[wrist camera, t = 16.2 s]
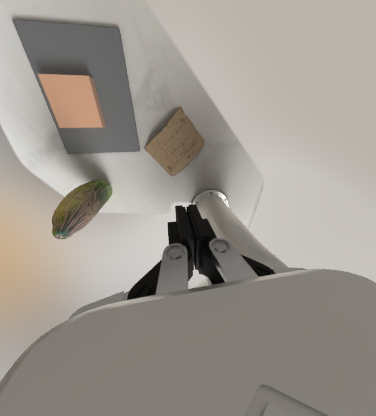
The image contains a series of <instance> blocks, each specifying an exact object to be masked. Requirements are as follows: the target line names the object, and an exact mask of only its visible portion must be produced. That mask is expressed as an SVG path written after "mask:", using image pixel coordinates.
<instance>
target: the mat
mask: <svg viewBox="0 0 376 416" xmlns="http://www.w3.org/2000/svg"><path fill="white" fill-rule="evenodd" d="M12 21H13V23H14V25H15V28H16V30H17V33H18V35H19V38H20V40H21V42H22V45H23V47H24V50H25V52H26V54H27V57H28V59H29V62H30V64H31V66H32V69H33V71H34V74H35V76H36V79H37V81H38V83H39V86H40V88H41V91H42V93H43V95H44V98H45V100H46V103H47V105H48V108H49V110H50V112H51V115H52V117H53V120H54V122H55V124H56V127H57V129H58V132H59V134H60V136H61V139H62V141H63V144H64V146H65V149H66V151H67V153H68V154H75V153H105V152H135V151H140V147H139V141H138V136H137V130H136V124H135V118H134V112H133V106H132V100H131V94H130V88H129V82H128V76H127V71H126V65H125V59H124V53H123V47H122V41H121V35H120V30H119V28H110V27H98V26H86V25H74V24H62V23H50V22H39V21H27V20H15V19H12ZM38 74H57V75H83V76H90V77H91V78H92V79H94V83H95V87H96V91H97V94H98V98H99V102H100V106H101V110H102V114H103V117H104V121H105V125H106V128H59V125H58V123H57V120H56V118H55V115H54V113H53V111H52V108H51V106H50V103H49V101H48V98H47V96H46V93H45V91H44V88H43V86H42V83H41V81H40V79H39V76H38Z"/></svg>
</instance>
